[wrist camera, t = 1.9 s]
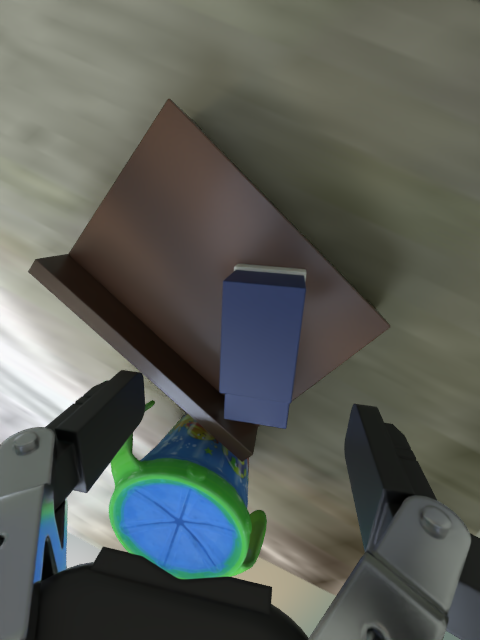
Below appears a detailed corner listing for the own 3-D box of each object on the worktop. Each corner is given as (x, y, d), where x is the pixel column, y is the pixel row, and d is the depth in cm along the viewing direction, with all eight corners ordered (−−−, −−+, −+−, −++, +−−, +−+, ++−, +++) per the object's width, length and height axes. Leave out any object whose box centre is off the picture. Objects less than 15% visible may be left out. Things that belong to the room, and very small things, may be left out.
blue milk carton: (237, 263, 20) (220, 276, 16) (306, 269, 20) (309, 284, 15) (230, 400, 24) (215, 442, 19) (288, 409, 23) (286, 455, 19)
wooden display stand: (190, 118, 21) (144, 74, 15) (376, 309, 23) (407, 344, 17) (93, 258, 26) (27, 271, 20) (254, 406, 28) (242, 462, 22)
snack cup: (129, 399, 31) (55, 480, 21) (206, 351, 27) (158, 422, 18) (218, 504, 33) (187, 617, 24) (298, 472, 30) (299, 589, 20)
